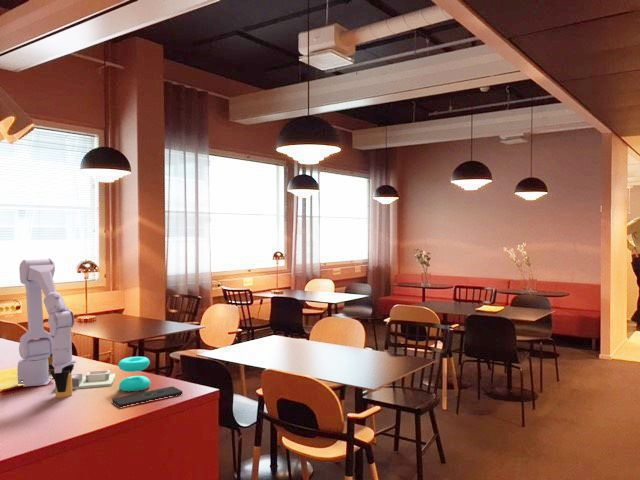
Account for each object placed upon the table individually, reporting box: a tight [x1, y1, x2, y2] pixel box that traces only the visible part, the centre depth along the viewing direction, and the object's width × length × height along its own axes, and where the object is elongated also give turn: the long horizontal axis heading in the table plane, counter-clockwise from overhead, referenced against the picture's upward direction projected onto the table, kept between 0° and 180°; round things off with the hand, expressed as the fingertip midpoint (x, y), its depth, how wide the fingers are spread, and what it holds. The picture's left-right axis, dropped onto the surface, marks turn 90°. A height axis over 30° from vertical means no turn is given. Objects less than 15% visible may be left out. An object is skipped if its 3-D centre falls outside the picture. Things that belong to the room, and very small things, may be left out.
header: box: [85, 369, 112, 382], centre depth 194 cm, size 8×6×2 cm
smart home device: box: [111, 386, 183, 408], centre depth 172 cm, size 8×2×20 cm
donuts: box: [118, 356, 151, 393], centre depth 183 cm, size 10×10×10 cm
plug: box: [54, 372, 73, 399], centre depth 176 cm, size 5×3×7 cm, turn 105°
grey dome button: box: [72, 373, 83, 387], centre depth 187 cm, size 7×7×3 cm
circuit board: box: [54, 372, 117, 392], centre depth 191 cm, size 18×14×1 cm
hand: (63, 389), depth 176 cm, fingers open, 4 cm apart
